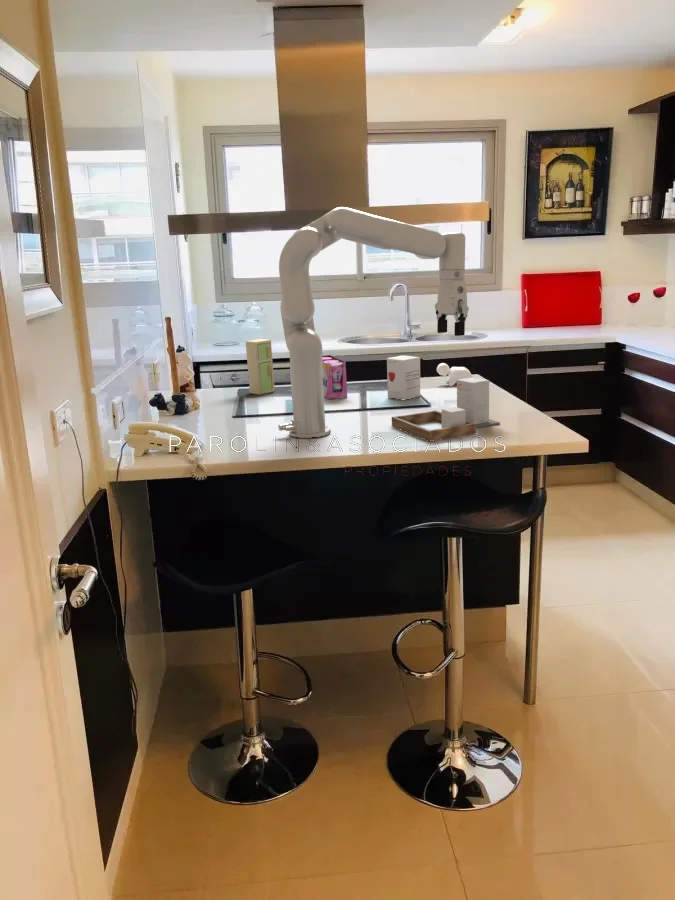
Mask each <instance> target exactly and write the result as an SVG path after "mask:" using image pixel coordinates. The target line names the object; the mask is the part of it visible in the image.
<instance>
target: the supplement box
mask: <svg viewBox="0 0 675 900" xmlns="http://www.w3.org/2000/svg"><path fill="white" fill-rule="evenodd" d="M386 371H387V372H386V373H387V374H386V375H387V376H386V378H387V379H386V380H387V381H386V382H387V398H388V397H389V398H388V399H392V398H396V399H395V400H398V399H404V400H406V399H409V398H413V397H418V396H420V397H421V357H420V356H412V355H398V356H392V357H391V356H390V357H387V358H386ZM418 398H419V397H418ZM404 400H403V401H404ZM406 401H407V400H406Z"/></svg>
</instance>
